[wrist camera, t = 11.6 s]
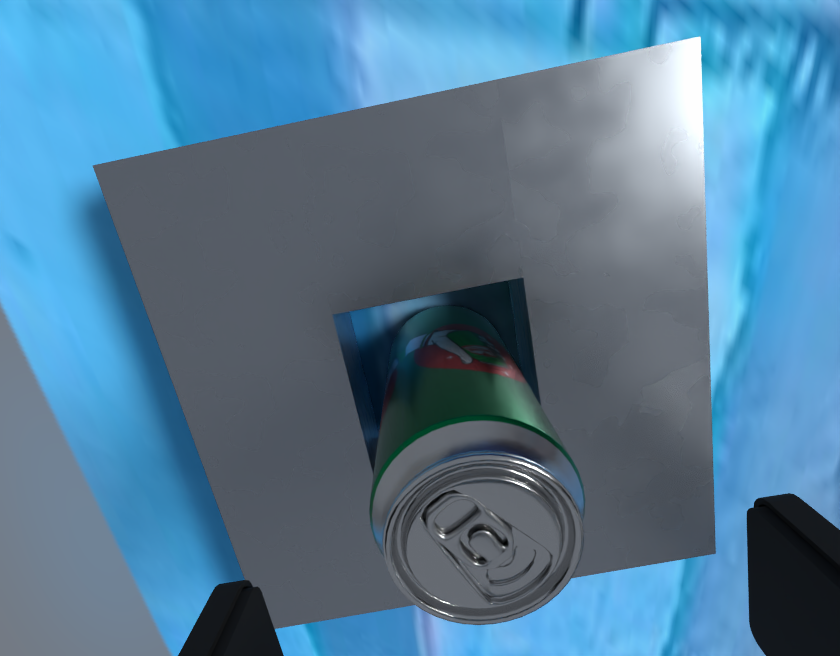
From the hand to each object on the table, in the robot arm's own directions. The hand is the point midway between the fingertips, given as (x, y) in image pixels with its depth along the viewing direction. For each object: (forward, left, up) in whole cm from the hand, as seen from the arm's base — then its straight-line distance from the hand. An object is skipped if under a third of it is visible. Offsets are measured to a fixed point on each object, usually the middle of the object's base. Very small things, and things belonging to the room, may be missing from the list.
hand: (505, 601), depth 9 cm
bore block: (0, 0, -13) cm, 13 cm away
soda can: (0, 0, -13) cm, 13 cm away
